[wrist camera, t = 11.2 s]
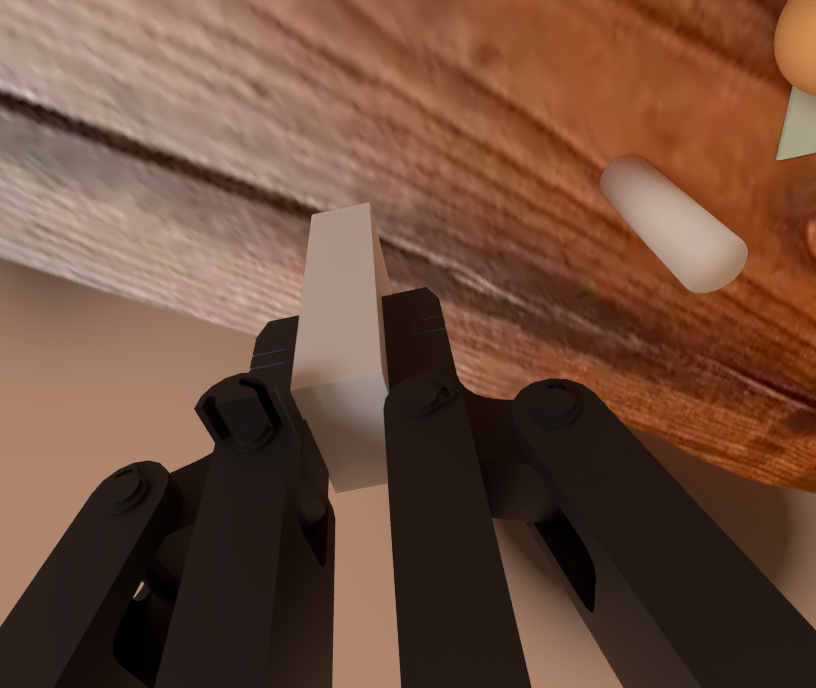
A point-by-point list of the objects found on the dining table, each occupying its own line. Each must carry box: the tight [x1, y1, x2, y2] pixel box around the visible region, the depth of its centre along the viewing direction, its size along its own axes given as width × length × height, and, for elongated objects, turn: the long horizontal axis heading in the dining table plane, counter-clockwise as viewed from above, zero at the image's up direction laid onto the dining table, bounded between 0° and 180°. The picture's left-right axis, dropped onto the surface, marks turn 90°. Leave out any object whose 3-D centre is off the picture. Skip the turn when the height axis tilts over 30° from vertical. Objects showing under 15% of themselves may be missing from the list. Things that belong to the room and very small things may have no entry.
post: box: [599, 154, 748, 293], centre depth 25 cm, size 3×3×9 cm
